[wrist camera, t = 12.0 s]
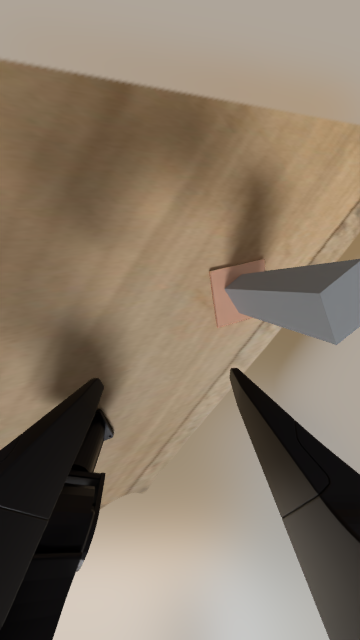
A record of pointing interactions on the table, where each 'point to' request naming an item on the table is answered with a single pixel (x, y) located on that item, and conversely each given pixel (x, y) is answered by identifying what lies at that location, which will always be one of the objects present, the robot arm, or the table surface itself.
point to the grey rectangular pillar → (303, 298)
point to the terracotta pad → (222, 301)
